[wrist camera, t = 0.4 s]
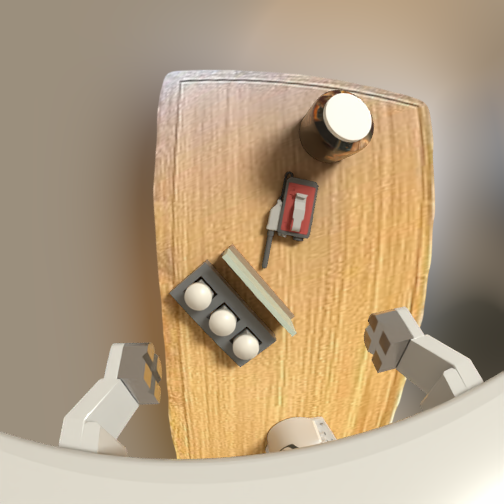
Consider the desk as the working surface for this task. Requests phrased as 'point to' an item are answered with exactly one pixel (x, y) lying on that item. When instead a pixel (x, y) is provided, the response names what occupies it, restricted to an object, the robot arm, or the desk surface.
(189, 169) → the desk surface
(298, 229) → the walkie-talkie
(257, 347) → the button
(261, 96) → the desk surface
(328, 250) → the desk surface
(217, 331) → the button middle
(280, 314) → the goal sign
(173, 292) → the button board
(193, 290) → the button
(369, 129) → the jar
